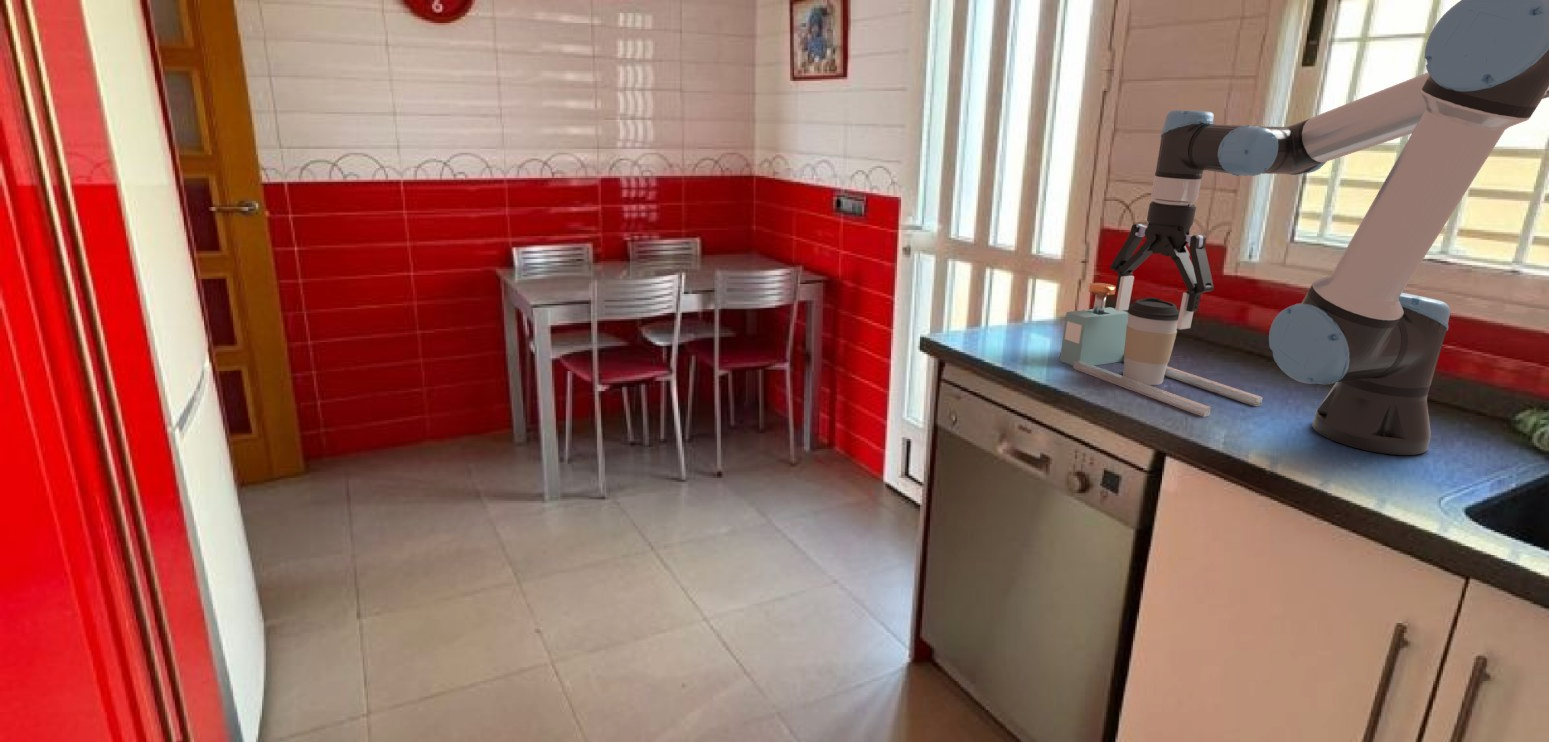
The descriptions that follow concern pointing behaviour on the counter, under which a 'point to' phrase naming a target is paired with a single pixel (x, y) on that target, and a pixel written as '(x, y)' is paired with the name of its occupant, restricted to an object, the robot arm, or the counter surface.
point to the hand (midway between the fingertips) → (1151, 319)
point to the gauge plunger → (1101, 295)
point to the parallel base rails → (1167, 396)
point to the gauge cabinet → (1094, 337)
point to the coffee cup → (1149, 339)
